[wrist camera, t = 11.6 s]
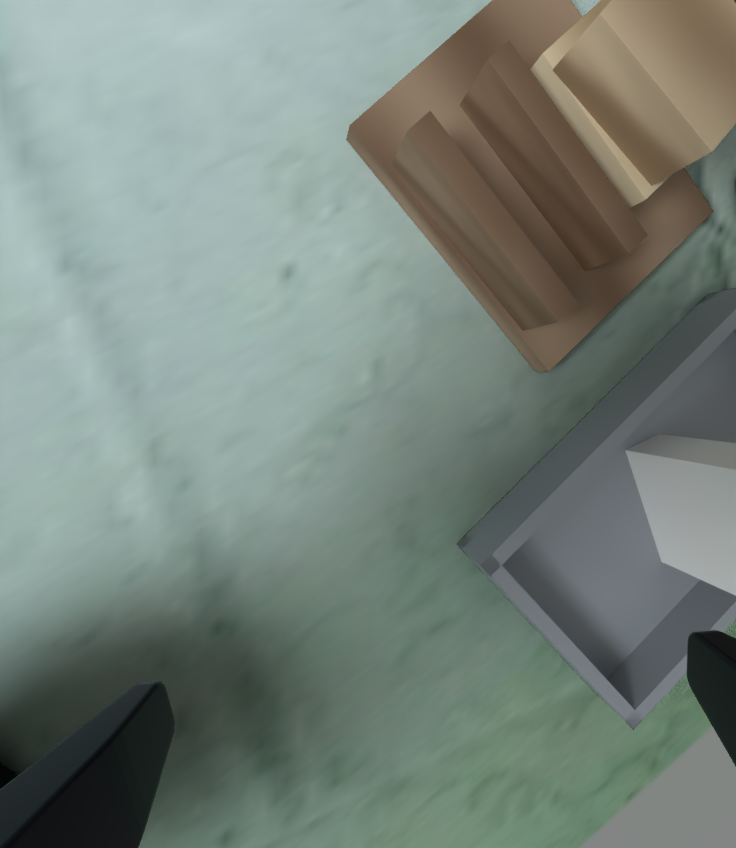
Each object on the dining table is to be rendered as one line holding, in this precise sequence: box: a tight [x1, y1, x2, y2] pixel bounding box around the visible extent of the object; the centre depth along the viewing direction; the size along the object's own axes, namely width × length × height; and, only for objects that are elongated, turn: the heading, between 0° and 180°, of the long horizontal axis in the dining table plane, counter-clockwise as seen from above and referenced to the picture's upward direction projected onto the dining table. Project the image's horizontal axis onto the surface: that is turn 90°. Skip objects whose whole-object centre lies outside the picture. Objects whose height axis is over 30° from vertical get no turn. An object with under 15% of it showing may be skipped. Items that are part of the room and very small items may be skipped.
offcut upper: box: [553, 0, 736, 186], centre depth 15 cm, size 4×5×2 cm
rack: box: [346, 0, 713, 372], centre depth 18 cm, size 10×12×4 cm
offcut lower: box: [530, 0, 672, 208], centre depth 17 cm, size 4×6×2 cm, turn 43°
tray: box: [457, 288, 736, 730], centre depth 20 cm, size 16×10×2 cm, turn 133°
